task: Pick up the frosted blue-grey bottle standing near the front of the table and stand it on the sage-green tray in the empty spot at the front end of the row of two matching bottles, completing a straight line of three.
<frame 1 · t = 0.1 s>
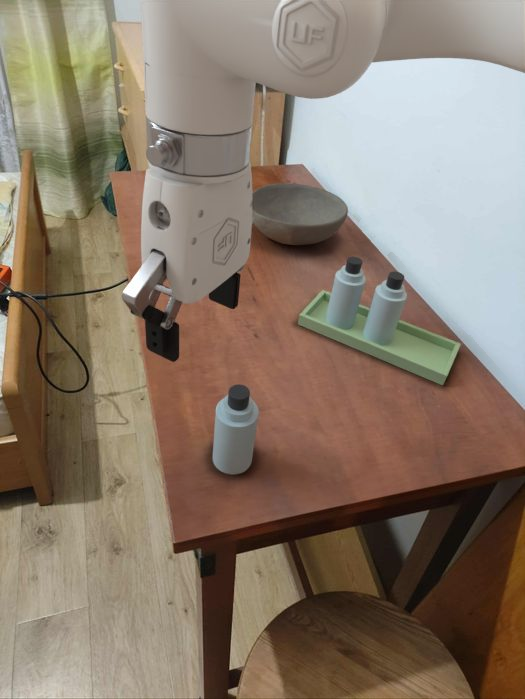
hand: (195, 327, 48), 22 cm above the table, tool pointing down, fingers open, 9 cm apart
row bottle middle: (377, 335, 86), point 1 cm above the table, touching tray
tray: (376, 338, 87), on the table
smartphone: (190, 241, 105), on the table
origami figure: (186, 203, 119), on the table
bowl: (292, 236, 112), on the table
row bottle back: (339, 320, 89), point 1 cm above the table, touching tray
loose bottle: (232, 458, 65), on the table
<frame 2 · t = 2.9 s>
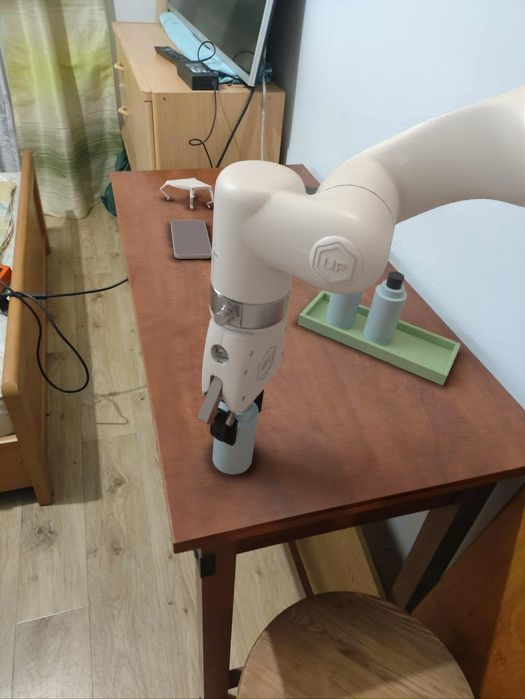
hand: (236, 422, 60), 7 cm above the table, tool pointing down, fingers closed on loose bottle, 5 cm apart
loose bottle: (232, 458, 65), on the table, touching gripper
everything else where it was.
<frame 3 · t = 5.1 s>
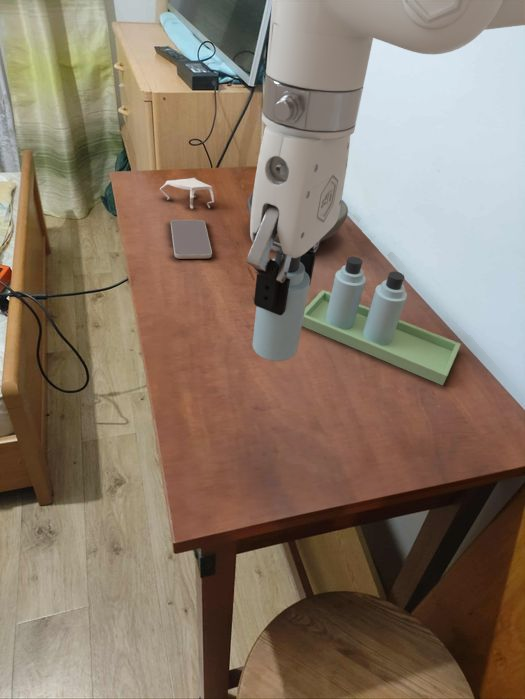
hand: (282, 294, 52), 24 cm above the table, tool pointing down, fingers closed on loose bottle, 5 cm apart
loose bottle: (274, 346, 56), point 17 cm above the table, touching gripper
everything else where it was.
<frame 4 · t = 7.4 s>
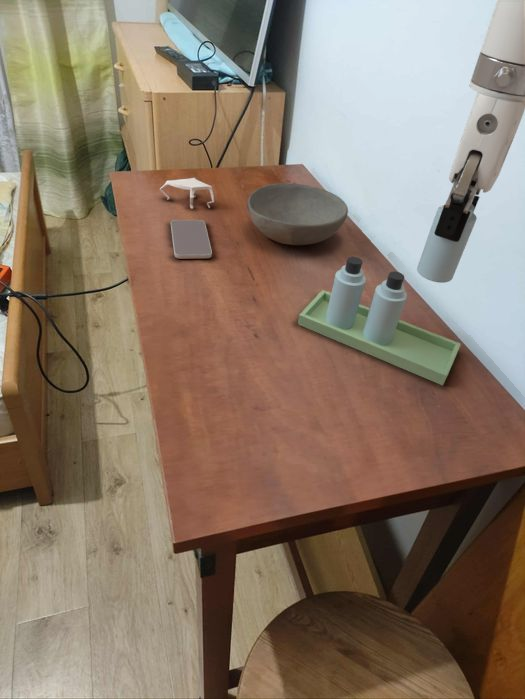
hand: (452, 228, 67), 24 cm above the table, tool pointing down, fingers closed on loose bottle, 5 cm apart
loose bottle: (434, 272, 71), point 17 cm above the table, touching gripper
everything else where it was.
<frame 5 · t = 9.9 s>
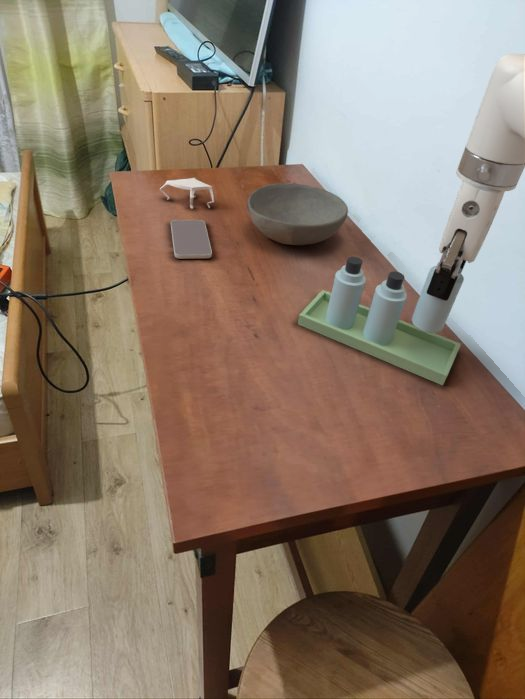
hand: (442, 286, 76), 14 cm above the table, tool pointing down, fingers closed on loose bottle, 5 cm apart
loose bottle: (427, 322, 80), point 7 cm above the table, touching gripper
everything else where it was.
when the fingers open (8 cm above the table, at t = 11.9 s): loose bottle stays where it is, resting on tray.
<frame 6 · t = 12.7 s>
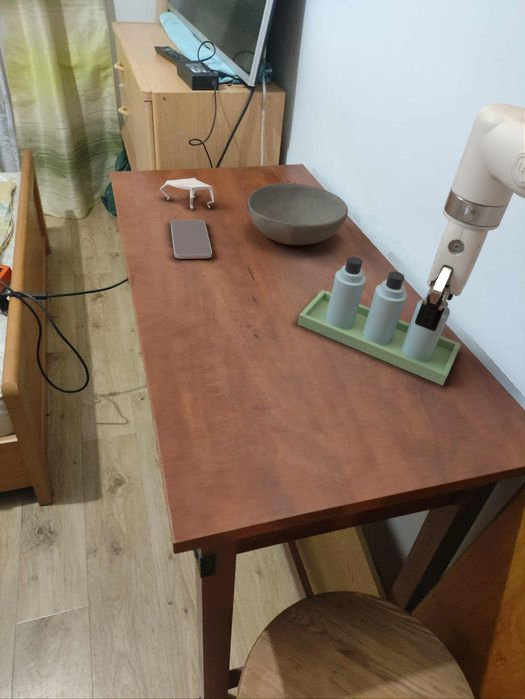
hand: (433, 311, 79), 9 cm above the table, tool pointing down, fingers open, 9 cm apart
loose bottle: (416, 351, 84), point 1 cm above the table, touching tray
everything else where it was.
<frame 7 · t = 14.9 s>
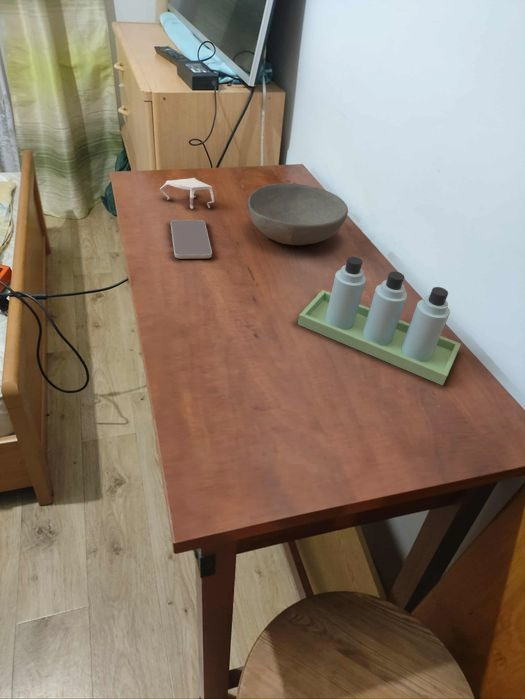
nothing on the table moved.
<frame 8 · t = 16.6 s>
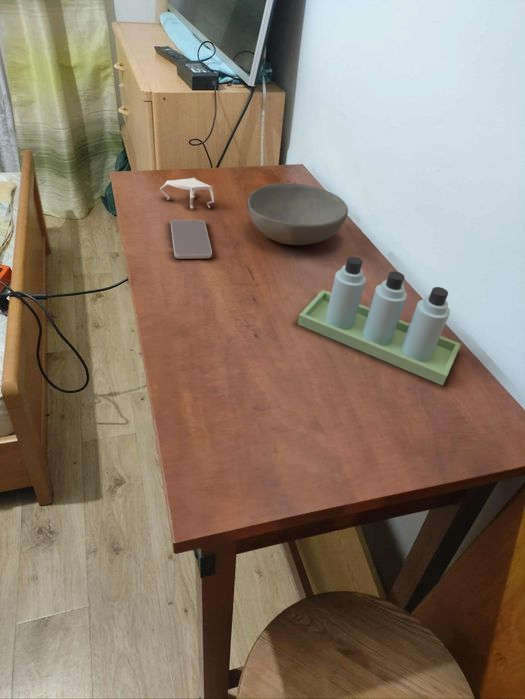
nothing on the table moved.
at the end: loose bottle 0.1 cm from the target spot in the tray, point 0.6 cm above the tray's base; loose bottle tilted 0°; row bottle middle moved 0.0 cm from its start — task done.
